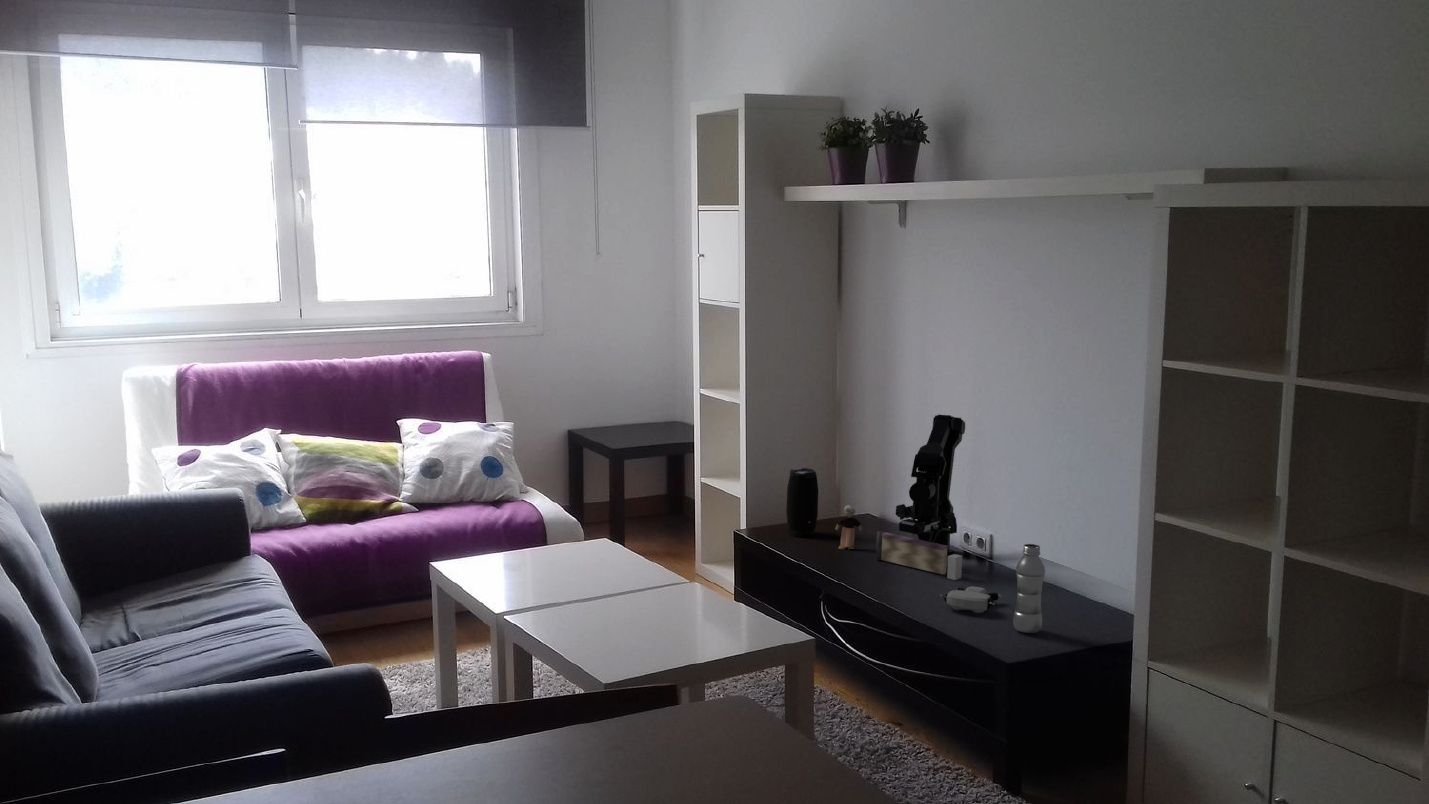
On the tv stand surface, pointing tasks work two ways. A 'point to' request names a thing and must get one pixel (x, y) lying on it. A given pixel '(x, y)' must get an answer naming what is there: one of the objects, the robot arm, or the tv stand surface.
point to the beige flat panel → (911, 552)
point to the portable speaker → (802, 502)
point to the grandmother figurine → (848, 528)
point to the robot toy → (971, 599)
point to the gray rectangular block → (954, 567)
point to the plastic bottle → (1029, 590)
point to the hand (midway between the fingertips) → (925, 553)
